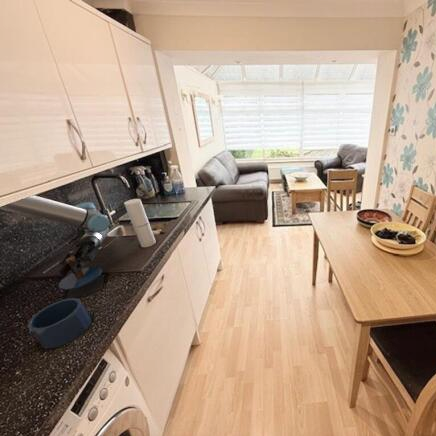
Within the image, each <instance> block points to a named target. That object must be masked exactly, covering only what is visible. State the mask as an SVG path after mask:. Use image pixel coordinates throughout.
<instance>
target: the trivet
mask: <svg viewBox="0 0 436 436" xmlns="http://www.w3.org/2000/svg"><path fill="white" fill-rule="evenodd" d="M105 277H106V274H105V273H104V274H100V275H99V276H98V277H97V278H96V279H95V280H93V281H92V282H90V283H88V284H86V285H84V286H81V287H78V288H75V289H70V290H68V292H67V294H66V297H65V299H71V298H76V299H79V298H81V297H83V296H84V297H85V296H86V295H90V294H93V293H95V292H98V291H102V290H103V287H104V281H105Z"/></svg>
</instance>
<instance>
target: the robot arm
mask: <svg viewBox="0 0 436 436" xmlns="http://www.w3.org/2000/svg"><path fill="white" fill-rule="evenodd" d="M32 195H33V196H30V197H27V198H25V199H21V200H19V201H16V202H13V203H10V204H7V205H5V206H2V207H0V210H4V211H8V212H13V213H18V214H21V215H27V216H31V217H36V218H39V219H44V220H48V221H53V222H56V223H57V222H58V223H62V224H67V225H71V226H76V227H80V228H83V230H84V234H83V236H82V237H81V238H80V239H79V240H78V241H77V243H76V246H75V248H73V249H72V251H68V250H66V251H64V252H63V253H64V254H63V256H62V257H61V259H60V260H59V262H58V264H59V265H60V269H59V270H58V273H59V274H60V276H61V277H62V278H65V277H66V276H67V274H69V272H70V271H71V273H73V274H76V273H77V272H78V271H79V269H80V268H81V269H82V267H84V265H85V264H87V263H88V262H92V261H94V259H96V257H97V256H98V254H99V253H100V252H102V251H103V250H104V248H103V246H102V243H103V242H104V240H105V239H106V237H107V236H108V234H109V231H110V229H109V227H110V219H109V218H108V217H107V216H106V215H104V214H103V213H101V212H99V211H98V209H97V208H96V206H95V205H94V202H88V201H87V202H82V203H78V204H76V205H70V204H67V203H64V202H59V201H55V200H53V199H48V198H46V197H41V196H39V195H35V194H32ZM73 256H74V257H75V258H76V260H77V261H76V262H75V263H74V265H73V266H72V267H71V268H70V267H69V265H68V263H67V262H66V259H67V258H69V257H73Z"/></svg>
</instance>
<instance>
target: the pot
mask: <svg viewBox="0 0 436 436" xmlns="http://www.w3.org/2000/svg"><path fill="white" fill-rule="evenodd" d="M91 323H92V318H91V316H90V314H89V313H88V310H87V309H86V307H85V306H84V304H83V302H82V301H81V299H80V298H71V299H66V298H64V299H62V300H59V301H57V302H53V303H52V304H50V305H47V306H45V307H44V308H42V309H41V310H39V311H38V312H36V313H35V314H34V315H33V316H32V317H31V318H30V319H29V321H28V323H27V325H26V326H27V328H28V330H29V331H30V333H31V334H32V335H33V337H34V338H35V339H36V340H37V342H38V343H39V344H40V345H41V347H42V348H44V349H53V348H58V347H61V346H64V345H66V344H68V343H70V342H72V341H74V340H75V339H78V337H79V336H81V335H82V334H83V333H84V332H85V331H87V330H88V328H89V326H90V325H91Z"/></svg>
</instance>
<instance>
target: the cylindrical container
mask: <svg viewBox="0 0 436 436" xmlns="http://www.w3.org/2000/svg"><path fill="white" fill-rule="evenodd" d="M123 204H124V208H125V209H126V212H127V215H128V217H129V220H130V222H131V226H132V227H133V230H134V233H135V235H136V237H137V240H138V242H139V245H140V247H141V248H149V247H151V246H153V245H155V244H157V243H156V242H157V241H156V238H155V235H154V232H153V229H152V227H151V225H150V221H149V219H148V217H147V216H148V215H147V214H146V210H145V208H144V205H143V202H142V199H141V198H133V199H128V200H126V201H124V203H123Z"/></svg>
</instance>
